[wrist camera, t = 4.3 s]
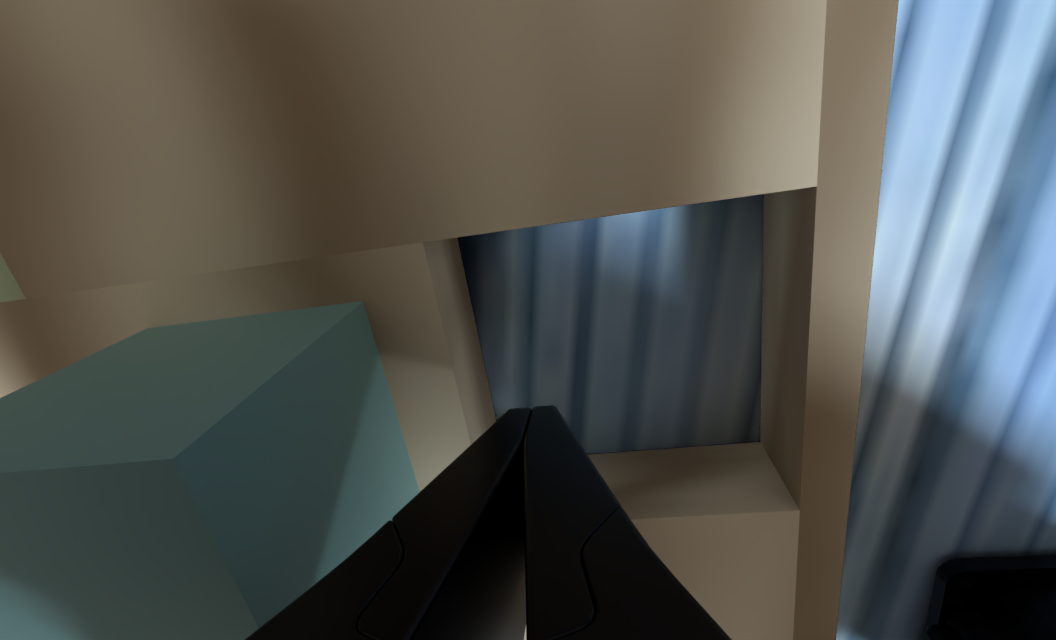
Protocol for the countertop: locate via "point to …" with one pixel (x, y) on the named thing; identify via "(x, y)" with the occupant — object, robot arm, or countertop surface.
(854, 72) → the trap board
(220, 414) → the block
